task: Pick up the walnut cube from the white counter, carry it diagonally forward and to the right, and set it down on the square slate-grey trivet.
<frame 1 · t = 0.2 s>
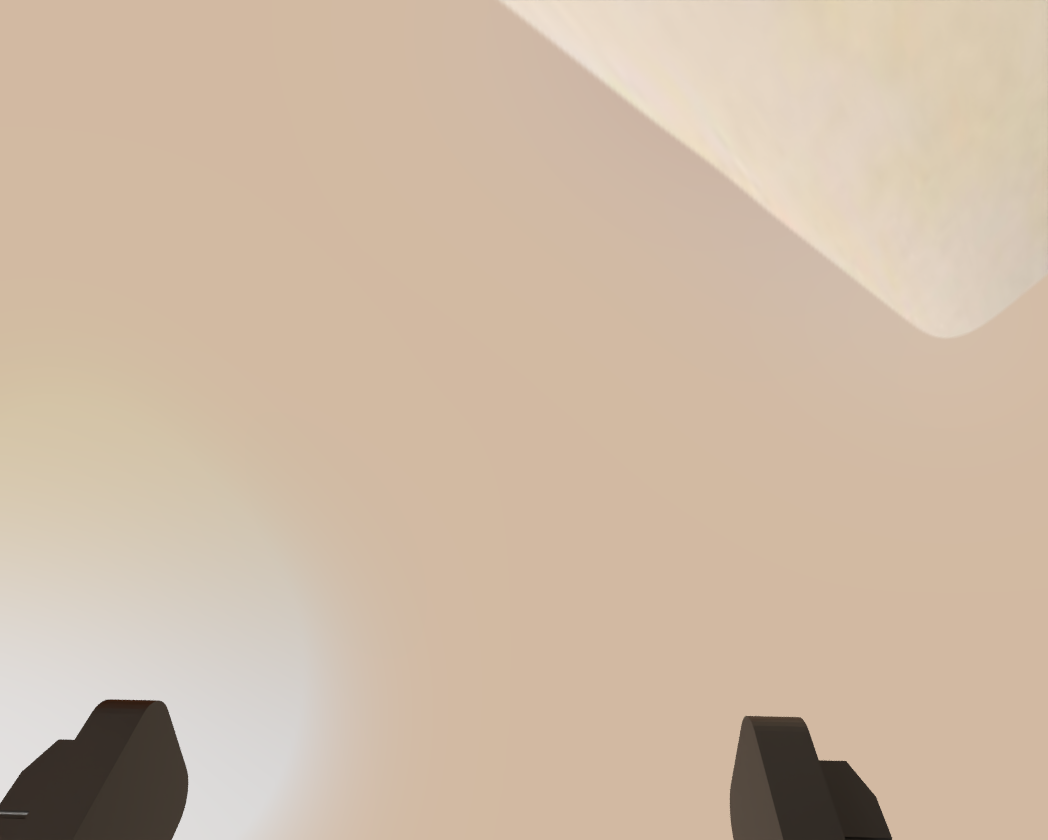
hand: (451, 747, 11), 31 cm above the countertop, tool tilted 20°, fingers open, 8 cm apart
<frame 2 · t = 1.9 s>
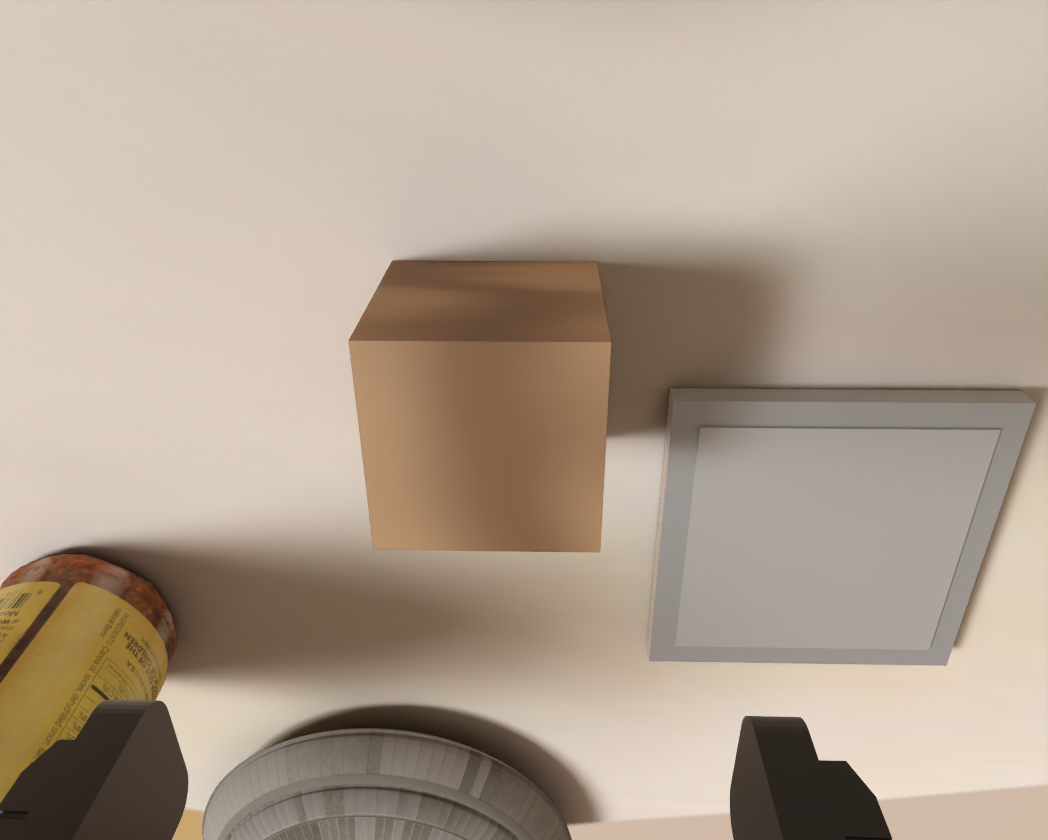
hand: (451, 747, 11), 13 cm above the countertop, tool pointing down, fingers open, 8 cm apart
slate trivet: (815, 529, 25), on the countertop
sauce bottle: (106, 610, 28), on the countertop
flying saucer: (395, 818, 34), on the countertop
walnut cube: (496, 353, 23), on the countertop
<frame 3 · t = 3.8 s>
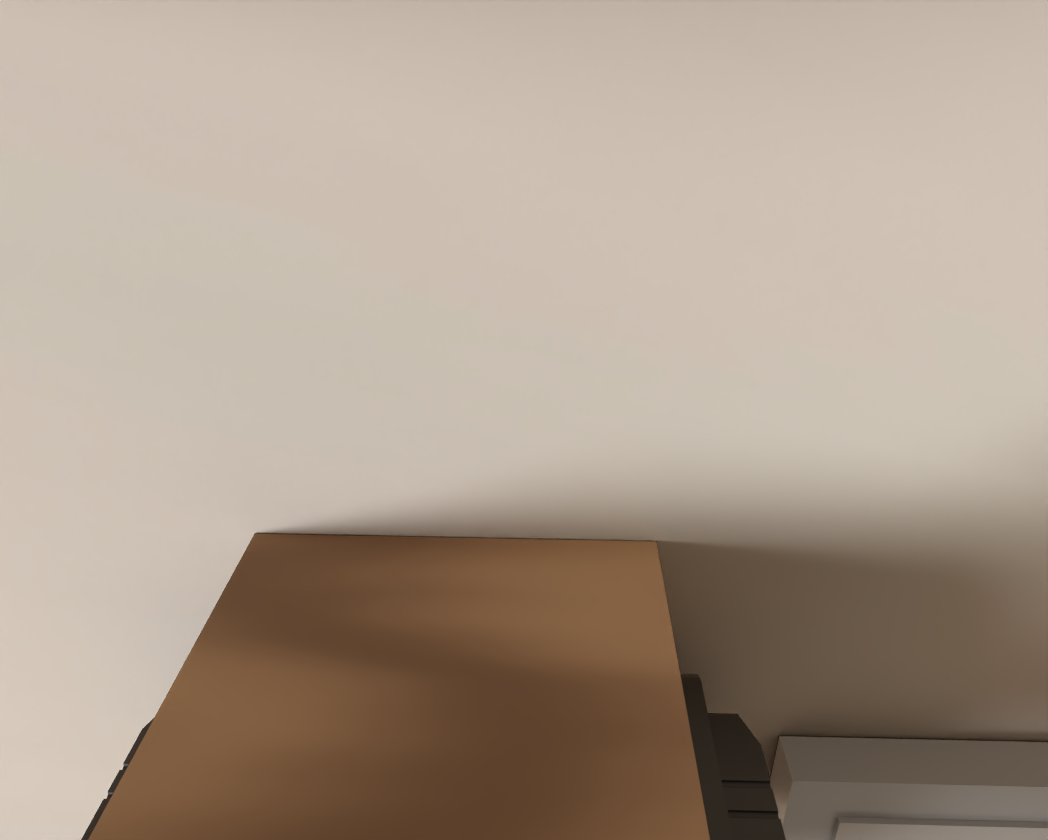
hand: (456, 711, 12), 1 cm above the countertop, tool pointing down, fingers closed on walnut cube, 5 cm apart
walnut cube: (461, 682, 12), on the countertop, touching gripper
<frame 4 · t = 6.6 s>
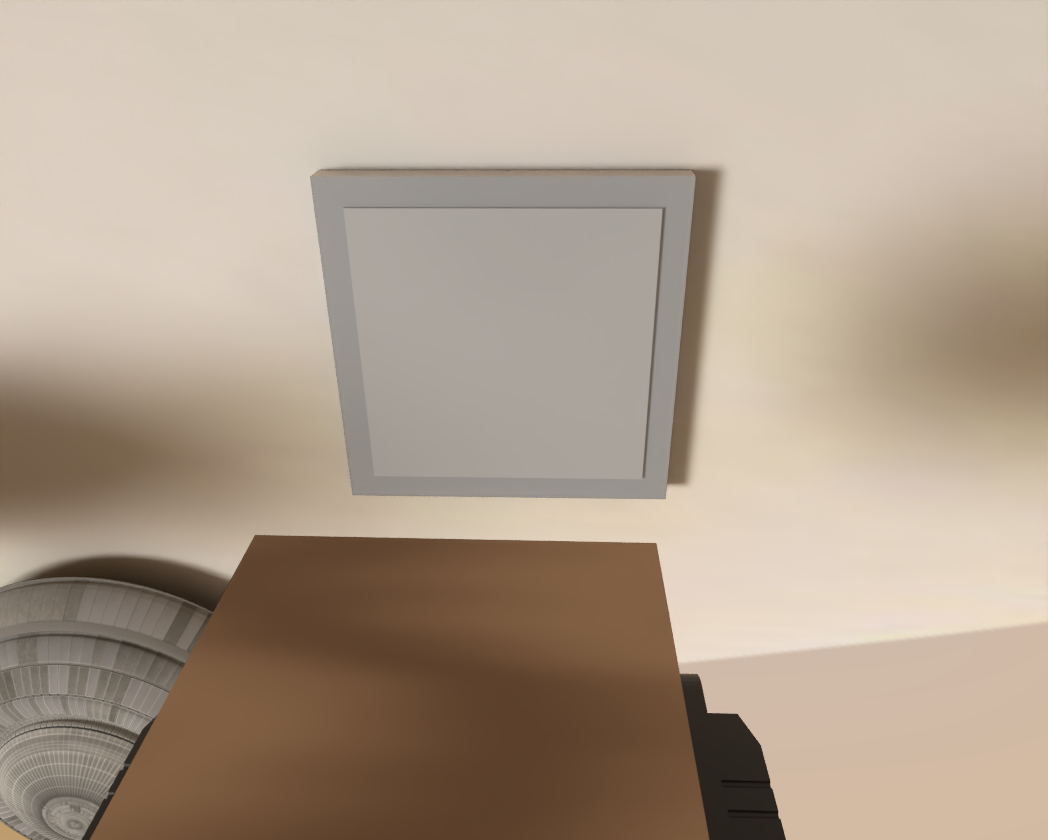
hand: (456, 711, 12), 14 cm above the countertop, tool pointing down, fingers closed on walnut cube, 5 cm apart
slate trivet: (506, 342, 24), on the countertop
flying saucer: (148, 695, 32), on the countertop
walnut cube: (461, 683, 12), point 13 cm above the countertop, touching gripper
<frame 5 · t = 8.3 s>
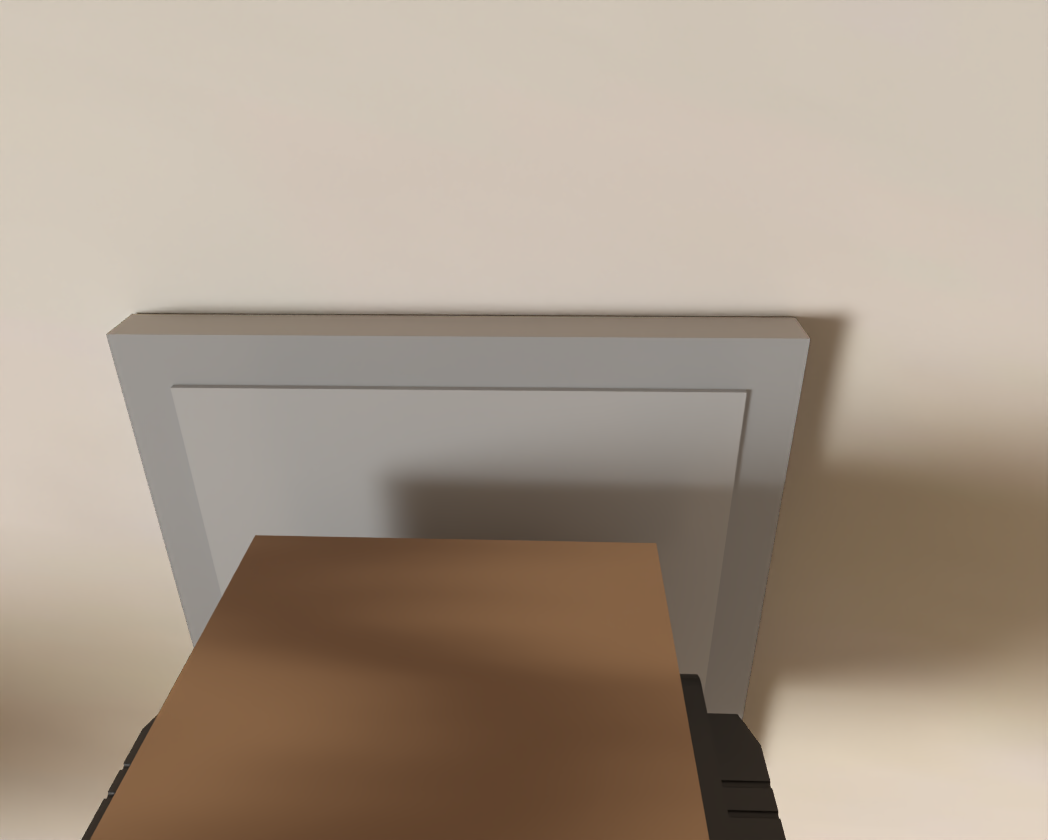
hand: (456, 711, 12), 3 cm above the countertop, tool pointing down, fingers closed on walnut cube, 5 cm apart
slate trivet: (471, 575, 14), on the countertop
walnut cube: (462, 683, 12), point 2 cm above the countertop, touching gripper
when the fingers open (2 cm above the countertop, at t = 9.4 s): walnut cube stays where it is, resting on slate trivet.
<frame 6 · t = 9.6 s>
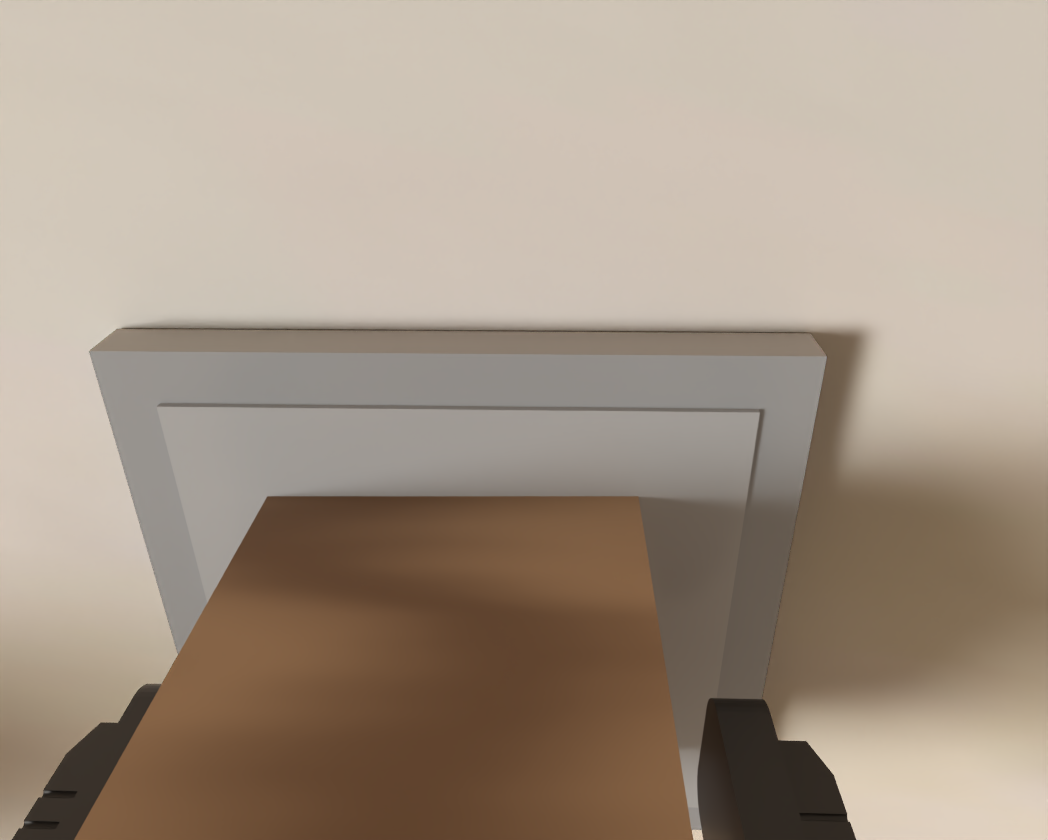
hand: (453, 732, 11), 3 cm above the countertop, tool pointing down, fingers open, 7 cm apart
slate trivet: (472, 598, 14), on the countertop
walnut cube: (462, 635, 13), point 1 cm above the countertop, touching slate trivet
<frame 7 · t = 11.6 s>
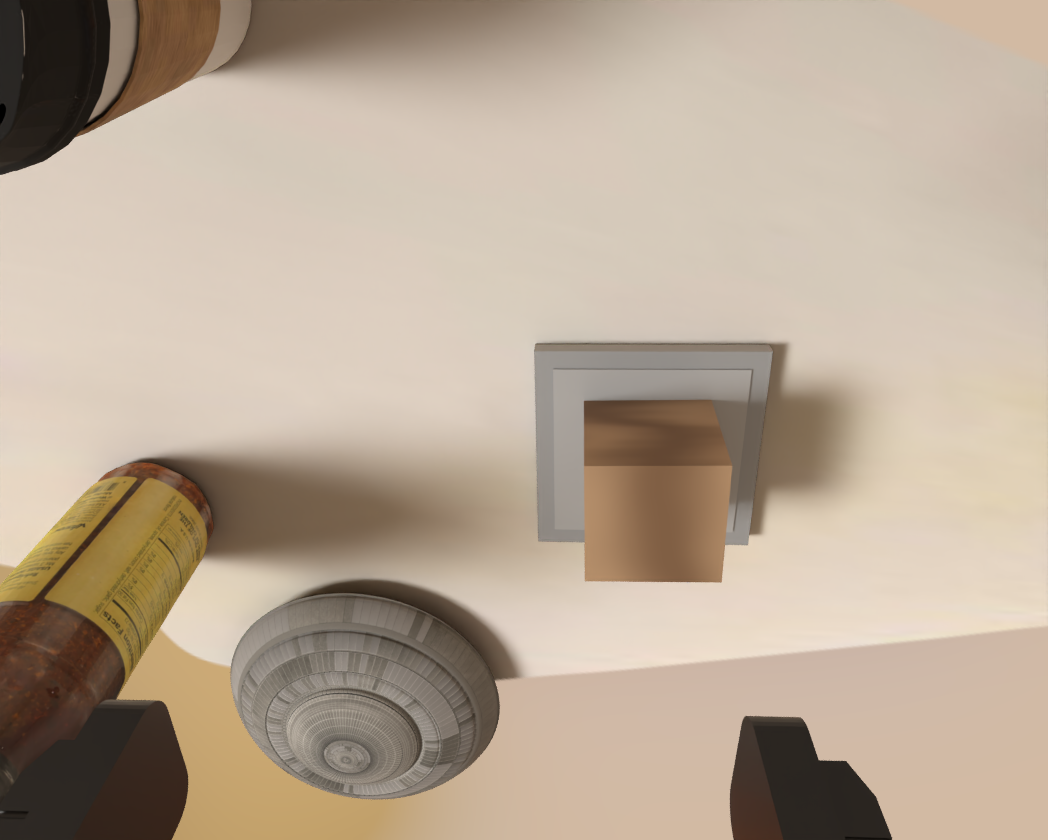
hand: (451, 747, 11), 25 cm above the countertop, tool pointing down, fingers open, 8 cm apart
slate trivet: (645, 444, 37), on the countertop
sauce bottle: (165, 506, 41), on the countertop
flying saucer: (371, 676, 46), on the countertop
walnut cube: (645, 454, 36), point 1 cm above the countertop, touching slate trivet
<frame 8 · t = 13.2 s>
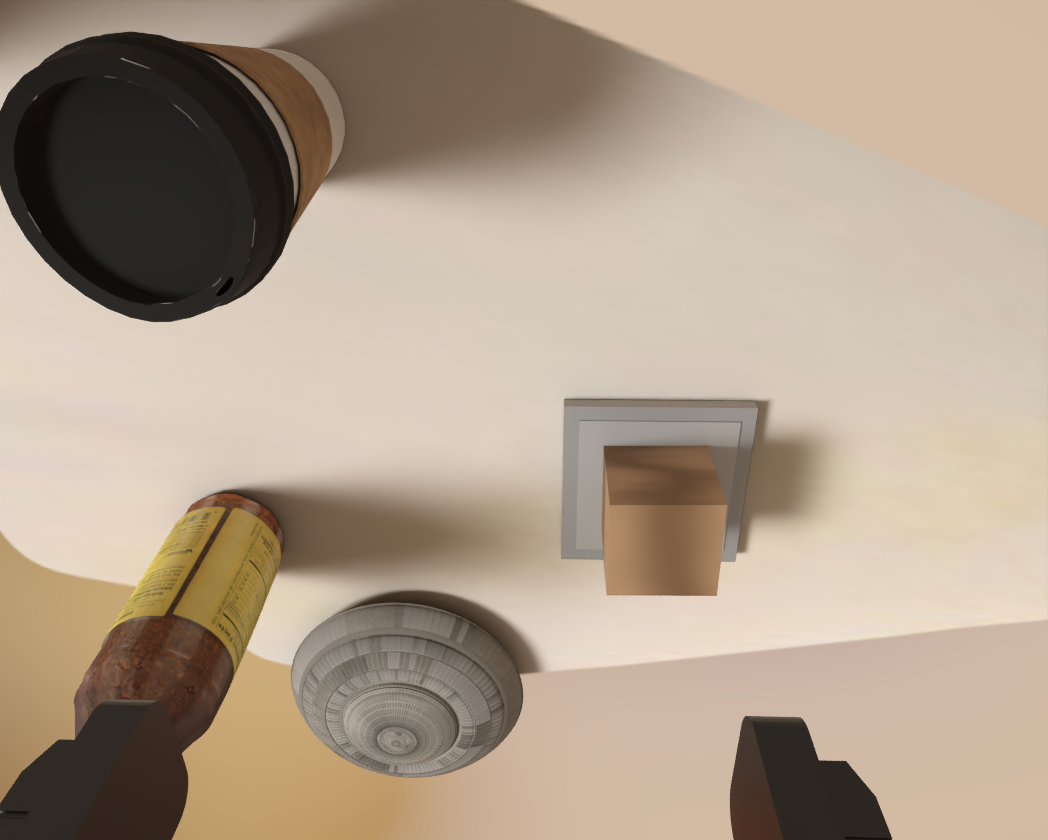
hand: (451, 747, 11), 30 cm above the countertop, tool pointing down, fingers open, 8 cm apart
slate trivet: (652, 480, 45), on the countertop
sauce bottle: (241, 529, 47), on the countertop
flying saucer: (411, 672, 53), on the countertop
walnut cube: (652, 489, 44), point 1 cm above the countertop, touching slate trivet
coffee cup: (281, 119, 36), on the countertop
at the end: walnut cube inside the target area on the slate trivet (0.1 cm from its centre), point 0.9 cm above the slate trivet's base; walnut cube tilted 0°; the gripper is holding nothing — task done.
